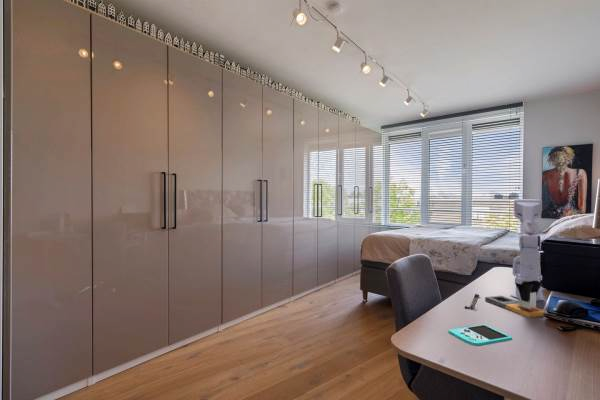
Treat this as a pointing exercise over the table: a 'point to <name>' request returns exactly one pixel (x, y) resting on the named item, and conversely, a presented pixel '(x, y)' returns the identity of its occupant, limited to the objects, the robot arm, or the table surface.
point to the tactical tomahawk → (473, 303)
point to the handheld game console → (480, 335)
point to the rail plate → (514, 306)
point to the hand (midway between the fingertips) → (528, 300)
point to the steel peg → (530, 303)
